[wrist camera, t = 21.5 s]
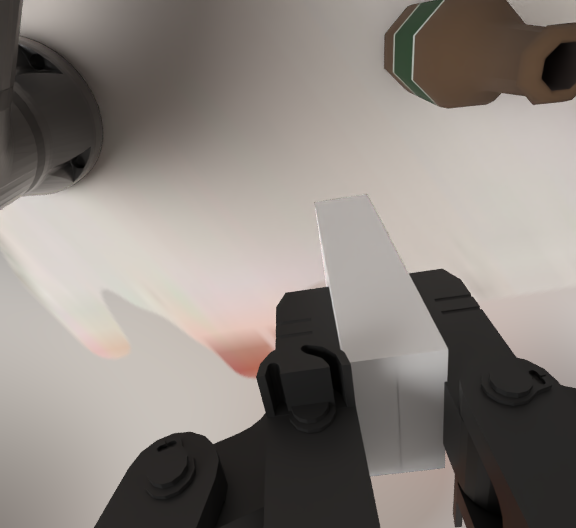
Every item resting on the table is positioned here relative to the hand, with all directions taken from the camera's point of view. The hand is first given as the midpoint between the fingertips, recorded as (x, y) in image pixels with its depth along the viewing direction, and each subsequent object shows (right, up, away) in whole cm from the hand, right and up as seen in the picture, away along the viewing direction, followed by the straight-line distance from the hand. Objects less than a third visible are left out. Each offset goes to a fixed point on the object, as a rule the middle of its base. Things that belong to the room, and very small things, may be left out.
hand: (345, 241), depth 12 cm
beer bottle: (+11, +20, +29) cm, 37 cm away
